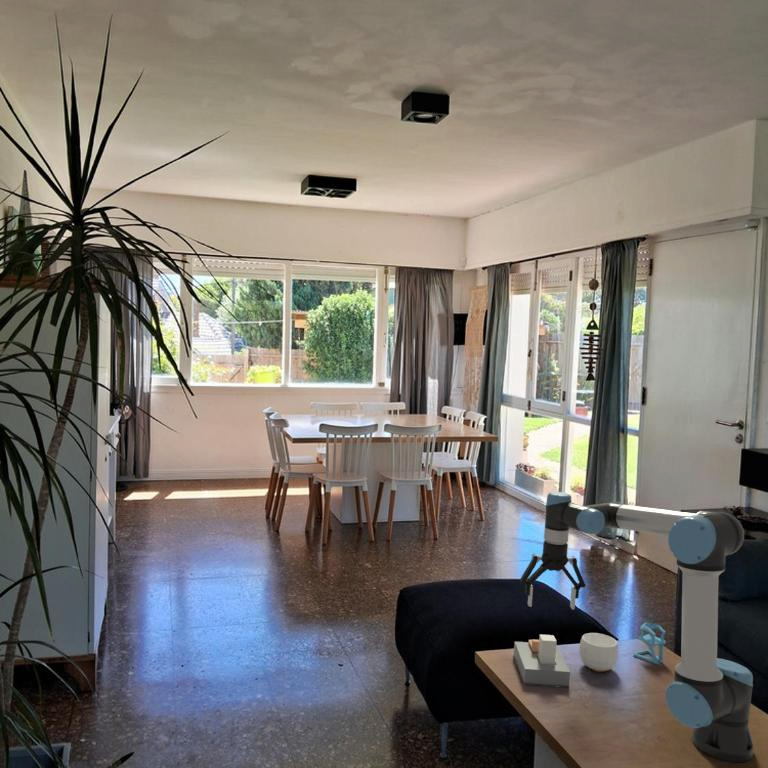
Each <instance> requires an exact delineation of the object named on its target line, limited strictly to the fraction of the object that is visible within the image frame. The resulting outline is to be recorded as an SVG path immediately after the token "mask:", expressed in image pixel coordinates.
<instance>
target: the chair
mask: <svg viewBox="0 0 768 768" xmlns="http://www.w3.org/2000/svg"><path fill="white" fill-rule="evenodd" d="M653 629H658V630H660V632H661V635H660V637H657V636H656V633H655V632H654V631H653ZM639 630H640V636H637V640H639V641H640V642H641V641H642V643H644V644H645V645H646V646H647V647H648V649H643V650H641V651H637V652H634V653H633V657H635V658H638V659H640V660H644V661H647V662H649V663H651V664H654V665H659V663H661V664H663V663H664V655H663V654H664V653H663V652H664V645H665V644H666V642H667V641H666V640H665V639H664V637H665V634H666V630H664V629H663V628H662V626H661V625H659V624H656V623H653V622H644V623H643V624H642V625H640V628H639ZM644 631H645V632H647V633H648V634H645V635H644ZM656 646H658V655H656V654H655V650H654V647H656ZM644 654H649V655H650V656H651V657H652V658H651V657H647V656H644Z"/></svg>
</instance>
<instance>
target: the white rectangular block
mask: <svg viewBox="0 0 768 768" xmlns="http://www.w3.org/2000/svg"><path fill="white" fill-rule="evenodd" d="M538 640H539V649H538V662H539V664H548V665H555V656H556V645H557V642H558V641H557V639H556V638H555V636H554V635H553V634H552V635H551V634H539V639H538Z"/></svg>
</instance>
